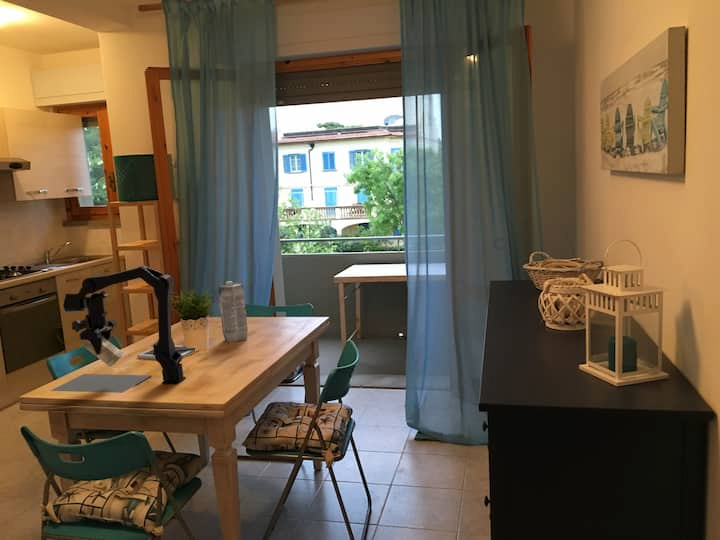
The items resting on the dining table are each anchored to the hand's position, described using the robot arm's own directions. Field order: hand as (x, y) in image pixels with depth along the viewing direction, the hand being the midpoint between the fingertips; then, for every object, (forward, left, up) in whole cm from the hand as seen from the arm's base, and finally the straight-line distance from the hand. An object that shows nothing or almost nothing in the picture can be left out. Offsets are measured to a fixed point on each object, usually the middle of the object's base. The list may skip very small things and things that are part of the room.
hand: (101, 351), depth 219 cm
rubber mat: (+3, -2, -13) cm, 13 cm away
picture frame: (-3, -39, -14) cm, 41 cm away
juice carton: (-23, -62, -13) cm, 67 cm away
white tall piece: (-5, -1, -4) cm, 6 cm away
